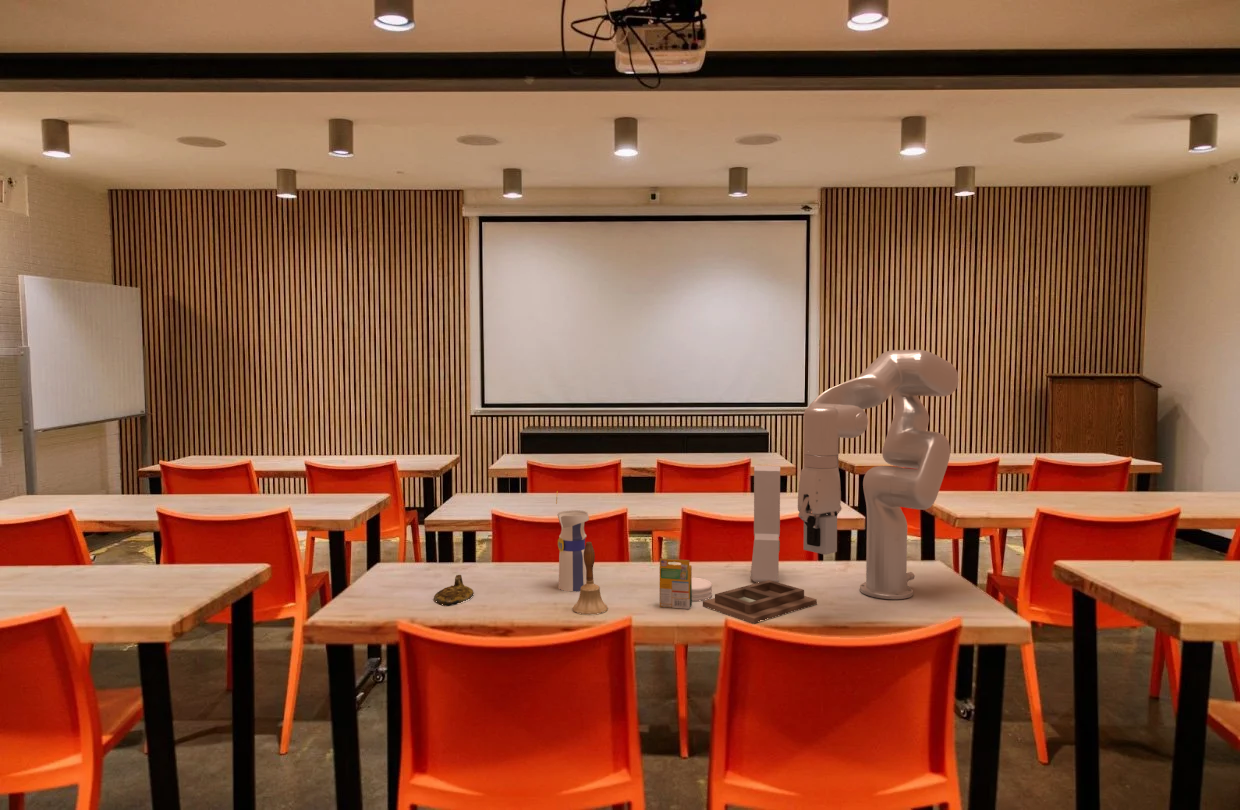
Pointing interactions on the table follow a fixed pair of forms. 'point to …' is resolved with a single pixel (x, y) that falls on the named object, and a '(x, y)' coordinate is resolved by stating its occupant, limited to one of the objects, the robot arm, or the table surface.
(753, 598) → the tray
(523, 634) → the table surface
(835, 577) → the table surface
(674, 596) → the crayon box
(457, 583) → the seal
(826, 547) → the grey block
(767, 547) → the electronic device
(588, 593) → the hand bell
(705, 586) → the white round stack
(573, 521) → the water bottle
